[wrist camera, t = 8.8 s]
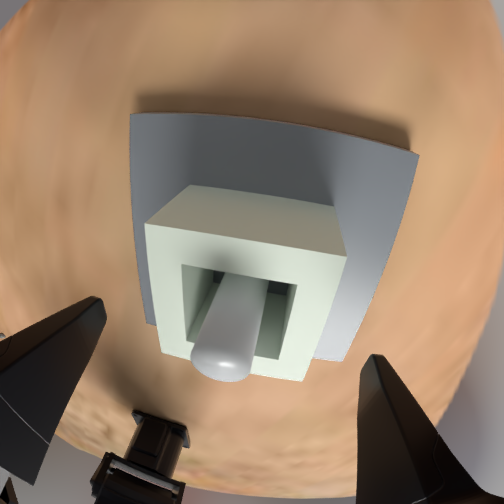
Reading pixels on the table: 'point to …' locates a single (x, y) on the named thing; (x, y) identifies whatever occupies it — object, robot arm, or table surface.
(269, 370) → the hollow square sleeve
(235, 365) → the post stand
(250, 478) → the table surface
